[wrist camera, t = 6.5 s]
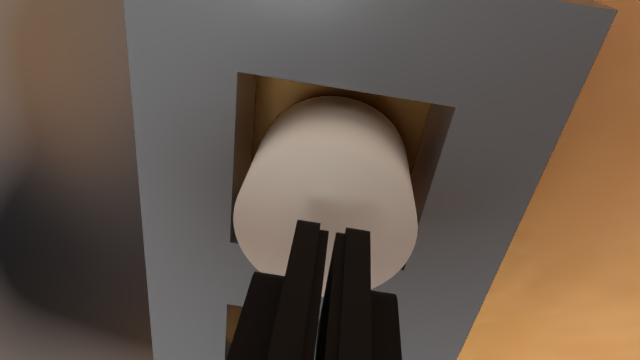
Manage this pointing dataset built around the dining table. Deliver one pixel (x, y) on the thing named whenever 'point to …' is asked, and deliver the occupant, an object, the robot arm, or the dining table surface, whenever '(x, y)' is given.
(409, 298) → the console
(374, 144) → the ivory button
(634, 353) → the dining table surface
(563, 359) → the dining table surface
